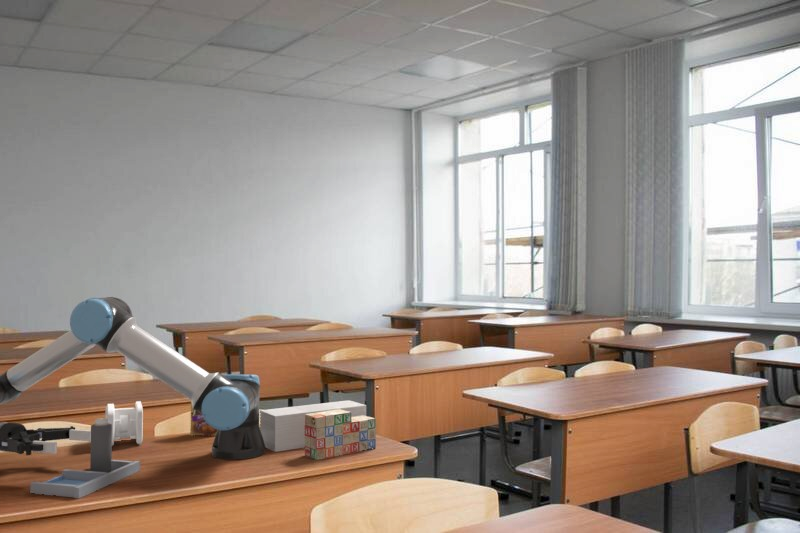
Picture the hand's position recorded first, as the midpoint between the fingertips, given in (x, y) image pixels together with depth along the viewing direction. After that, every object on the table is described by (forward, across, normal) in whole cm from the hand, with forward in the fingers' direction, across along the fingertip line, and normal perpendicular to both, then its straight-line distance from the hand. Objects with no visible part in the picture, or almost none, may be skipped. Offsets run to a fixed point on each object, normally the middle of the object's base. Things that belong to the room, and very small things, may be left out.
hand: (74, 441), depth 185 cm
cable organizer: (-8, -33, -9) cm, 35 cm away
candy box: (+11, -49, -8) cm, 51 cm away
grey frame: (+8, +5, -8) cm, 13 cm away
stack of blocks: (+60, -39, -9) cm, 72 cm away
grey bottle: (+8, 0, -8) cm, 11 cm away
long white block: (+48, -50, -9) cm, 70 cm away
